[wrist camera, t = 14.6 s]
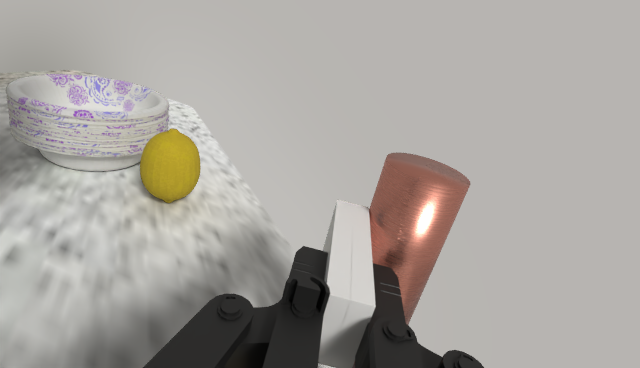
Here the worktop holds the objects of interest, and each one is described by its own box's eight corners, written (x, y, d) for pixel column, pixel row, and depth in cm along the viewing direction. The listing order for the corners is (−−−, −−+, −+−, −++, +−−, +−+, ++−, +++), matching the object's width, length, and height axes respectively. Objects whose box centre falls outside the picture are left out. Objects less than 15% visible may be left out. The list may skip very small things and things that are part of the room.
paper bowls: (13, 190, 33) (4, 106, 30) (13, 133, 43) (5, 66, 40) (182, 179, 42) (188, 115, 39) (148, 134, 52) (151, 80, 49)
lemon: (206, 208, 38) (215, 136, 35) (156, 221, 33) (161, 141, 30) (178, 186, 40) (184, 118, 37) (128, 196, 36) (130, 120, 33)
